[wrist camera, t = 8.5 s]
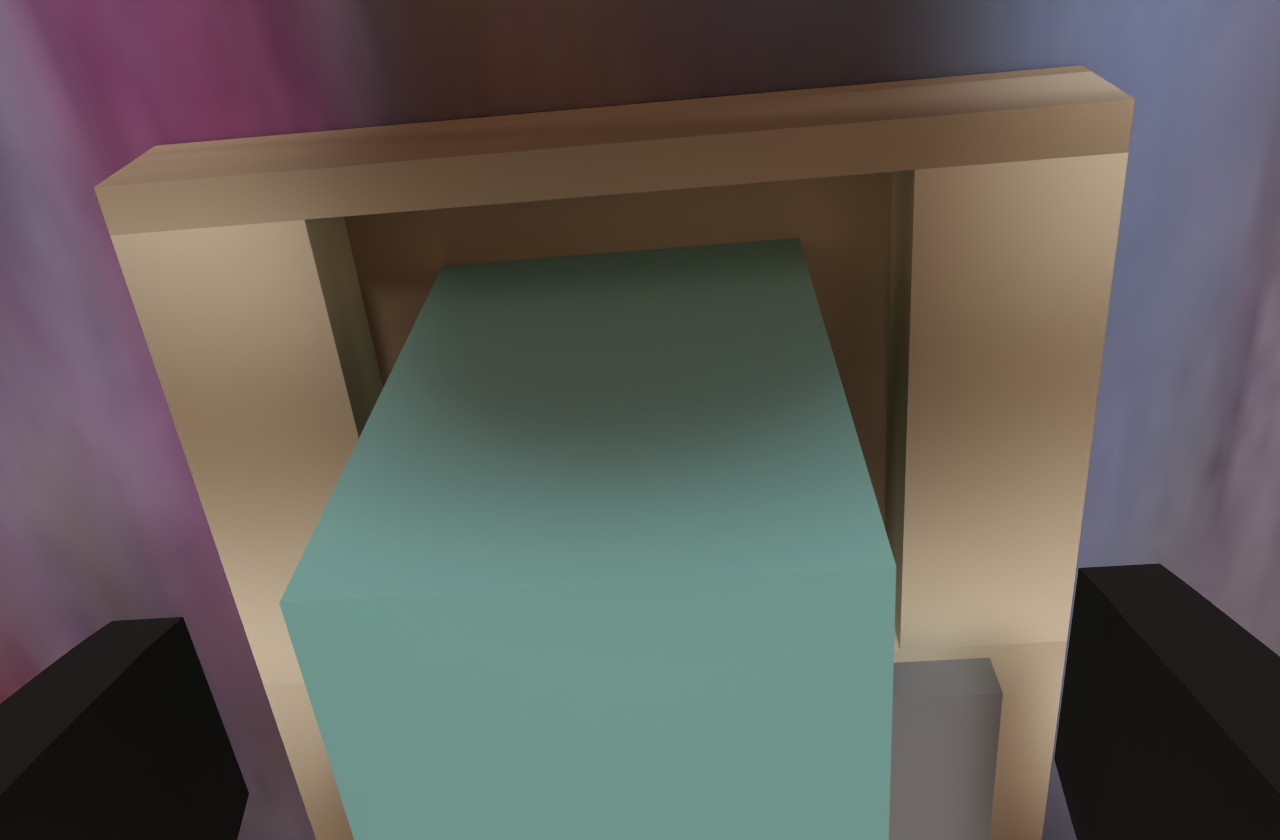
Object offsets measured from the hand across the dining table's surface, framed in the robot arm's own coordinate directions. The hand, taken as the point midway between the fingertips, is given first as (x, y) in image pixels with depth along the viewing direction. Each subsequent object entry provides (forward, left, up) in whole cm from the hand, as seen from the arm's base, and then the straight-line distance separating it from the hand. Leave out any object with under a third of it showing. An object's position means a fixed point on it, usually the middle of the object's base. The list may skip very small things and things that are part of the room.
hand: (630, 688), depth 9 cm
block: (0, 0, -5) cm, 5 cm away
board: (-4, -6, -5) cm, 9 cm away
